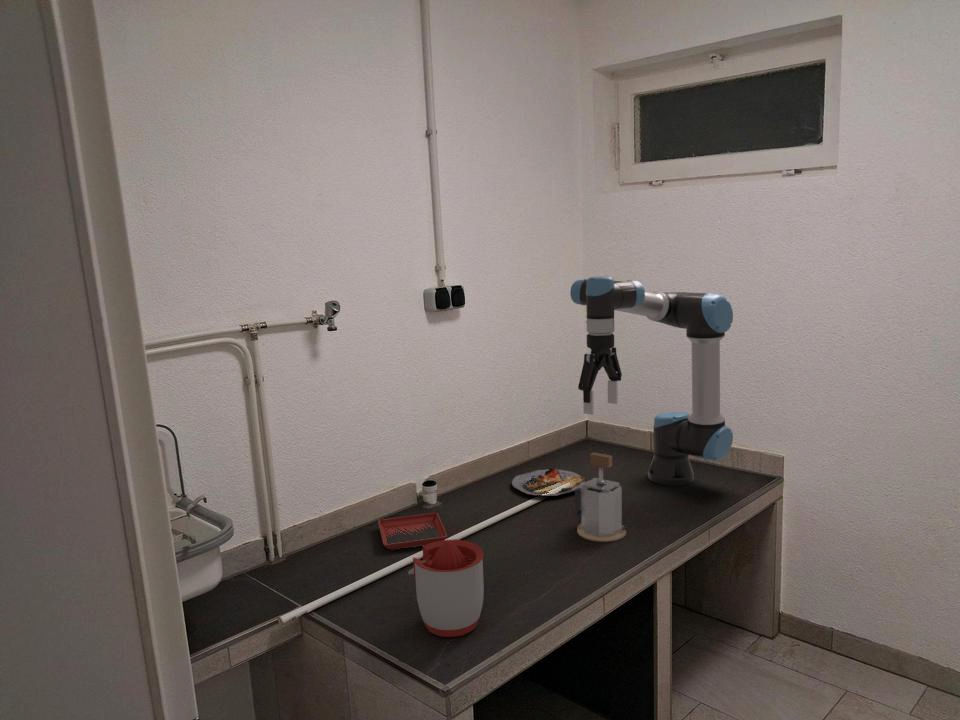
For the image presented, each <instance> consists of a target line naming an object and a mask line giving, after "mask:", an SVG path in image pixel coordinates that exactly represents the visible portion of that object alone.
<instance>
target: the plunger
mask: <svg viewBox="0 0 960 720" xmlns="http://www.w3.org/2000/svg"><path fill="white" fill-rule="evenodd" d="M589 465H593V466H597V467H598V478H599V479H598V480H597V484H599V485H604V484H606V480H607V479H604V468H608V469H610V468H611V467H613V455H610V454H606V453H605V454H604V453H599V452H591V453H590V454H589ZM599 492H601V491H599Z"/></svg>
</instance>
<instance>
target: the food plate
mask: <svg viewBox="0 0 960 720" xmlns="http://www.w3.org/2000/svg"><path fill="white" fill-rule="evenodd" d="M531 478H536V479H537V481H539V482H536V483H534V482H533V483H534V484H531V483H529V485H528V484H525V483H526V482H527V481H529V480H531ZM586 482H587V480H586V478H585V476H582V475H580V474H579V473H577V472H574V471H572V470H571V471H570V470H565V469H558V468H557V467H556V468H552V467H551V468H547V469H546V468H545V469H537V470H533V471H532V470H531V471H528V472H525V473H522V474H519V475H516V476H515V477H513V479H512V481H511V485H512V487H513V488H515V489H517V490H518V491H519V492H522V493H525V494H527V495H532V496H537V495H538V496H539V495H541V497H542V496H543V497H544V496H545V497H547V496H550V497H551V496H560V495H563V494H568V493H571V492H575V489H577V488H581V485H582V484H584V483H586ZM546 483H550V484H554V483H556V484H554V485H551V486H548V487H545V488H543V489H540V490H539V489H538V490H533V491H529V490H528V489H530V490H532V489H537V488H540V487H544V486H546V485H547V484H546ZM566 483H570V485H569V487H566V488H562V489H561V491H559V493H556V494H550V495H542V494H545V493H546V494H547V493H549V492H547V491H549V490H551V489H554V488H556V487H558V486H561V485H564V484H566ZM524 484H525V485H526V487H527V488H528V489H527V488H525V489H524V488H523V485H524ZM544 491H546V492H544ZM535 493H536V494H535Z"/></svg>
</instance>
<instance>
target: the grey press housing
mask: <svg viewBox="0 0 960 720" xmlns="http://www.w3.org/2000/svg"><path fill="white" fill-rule="evenodd" d="M598 479H599V477H593V478H591V479H590V480H586V483H584V484H582V485H581V488H577V489H575V491H574V508H575V509H574V513H575V517H581V522H580V524H578V525H577V527H576V533H577V535H578V536H579V537H580V538H581V539H584V540H587V541H591V542H594V543H595V542H596V543H612V542H617V541H620V540H623V538H625V537H626V535H627V528H626V527H625V525H623V524H622V520H623V519H622V515H623V514H622V513H623V511H622V509H623V507H622V506H623V505H622V504H623V503H622V496H623V495H622V493H623V492H622V489H623V488H622V486H621V485H620V482H617V481H614V480H608V479H605V480H606V484H604V485H599V484H597V480H598ZM599 491H601V492H599Z"/></svg>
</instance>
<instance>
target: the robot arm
mask: <svg viewBox="0 0 960 720" xmlns="http://www.w3.org/2000/svg"><path fill="white" fill-rule="evenodd" d="M569 293H570V298H571V300H572V302H573V303H574V304H576V305H581V306H586V309H585V310H586V320H585V321H586V322H585V323H586V332H587V335H586V347H587V348H589V350H590V353H584V355H583V365H582V368H581V373H580V378H579V383H578V387H577V388H578V390H579V391H582V395H583V396H582V398H583V399H582V400H583V414H586V415H591V416H592V415H594V413H595V412H594V411H595V410H594V409H595V407H594V390H592V389H593V387H594V384H595V382H596V379H597V375H598V373H599V371H601V369H602V368H603V370H604V372H605V373H606V375H607V377H608V380H607V403H608V404H613V405H618V382H621V380H622V375H623V374H622V370H621V366H620V362H619V359H618V355H617V347H615V335H614V332H615V311H617V312H623V313H627V314H634V315H639V316H643V317H646V318H647V319H648V320H649V321H652V322H657V323H660V324H664V325H667V326H670V327H673V328H678V329H683V330H684V329H685V331H686V339H688V340H689V341H690V342H691V392H692V393H691V395H692V396H691V406H692V407H691V408H692V409H691V410H692V413H691V414H690V413H688V411H687V412H686V411H668V412H663V413H658V414H657V415H655V417H654V419H653V422H654V423H653V427H652V428H653V458H652V460H651V464H650V465H649V468H648V471H647V472H648V473H647V475H648V477H647V478H648V479H649V481H651V482H653V483H655V484H658V485H661V486H662V485H663V486H671V487H672V486H673V487H678V486H686V485H689V484H691V483H692V482H693V481H694V475H695V473H694V469H693V468H692V464H691V461H690V456H692V457H696V458H700V459H703V460H704V461H712V462H718V461H721V460H722V459H724V458H725V457H726V456H727V455H728V454H729V451H730V450H731V448H732V446H733V445H732V444H733V441H734V434H733V433H734V432H733V431H732V429H731V428H730V427H728V426H726V418H725V416H723V415H722V414H721V343H720V342H721V341H722V339H724V338H725V336H726V335H725V334H726V332H728V331H729V330H730V329H731V327H732V323H733V321H734V320H733V319H734V315H733V314H734V313H733V307H732V304H731V302H730V301H729V300H728V299H727V298H726V296H724V295H721V294H716V293H713V292H711V293H710V292H687V291H679V292H678V291H677V292H676V291H675V292H674V291H671V292H668V291H667V292H666V291H665V292H663V291H653V292H648V291H646V290H645V286H643V284H642V283H641V282H640V281H638V280H635V279H634V280H631V279H629V280H614V277H613V276H608V275H602V276H601V275H600V276H598V275H597V276H591V277H588V278H587V279H586V278H583V279H577V280H575V281H574V282H573V283H572V284H571V287H570V292H569Z"/></svg>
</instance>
